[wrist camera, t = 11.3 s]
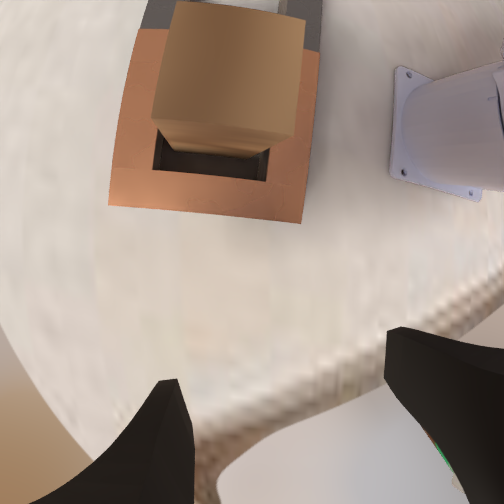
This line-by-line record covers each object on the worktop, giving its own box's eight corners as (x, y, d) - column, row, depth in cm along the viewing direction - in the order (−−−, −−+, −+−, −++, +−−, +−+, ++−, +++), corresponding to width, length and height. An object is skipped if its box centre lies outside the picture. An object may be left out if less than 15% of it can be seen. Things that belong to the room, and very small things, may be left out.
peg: (255, 92, 16) (305, 20, 8) (246, 159, 17) (293, 135, 9) (185, 83, 16) (177, 1, 7) (174, 151, 16) (150, 118, 8)
